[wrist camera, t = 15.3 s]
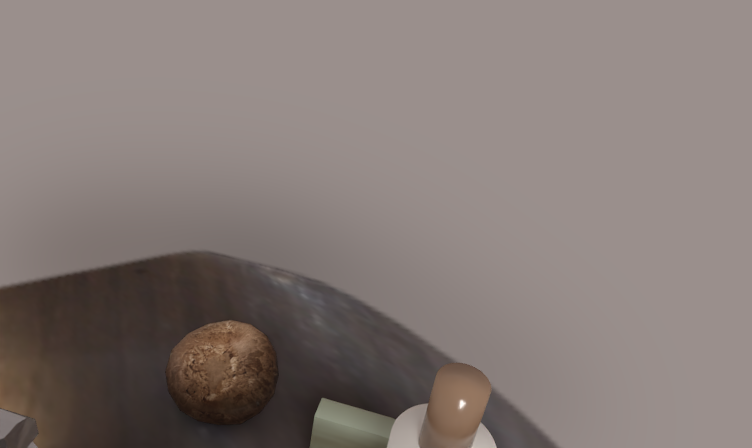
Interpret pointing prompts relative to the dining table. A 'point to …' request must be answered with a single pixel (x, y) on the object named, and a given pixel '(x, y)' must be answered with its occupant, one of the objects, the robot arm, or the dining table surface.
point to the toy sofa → (349, 427)
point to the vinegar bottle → (447, 413)
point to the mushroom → (222, 373)
